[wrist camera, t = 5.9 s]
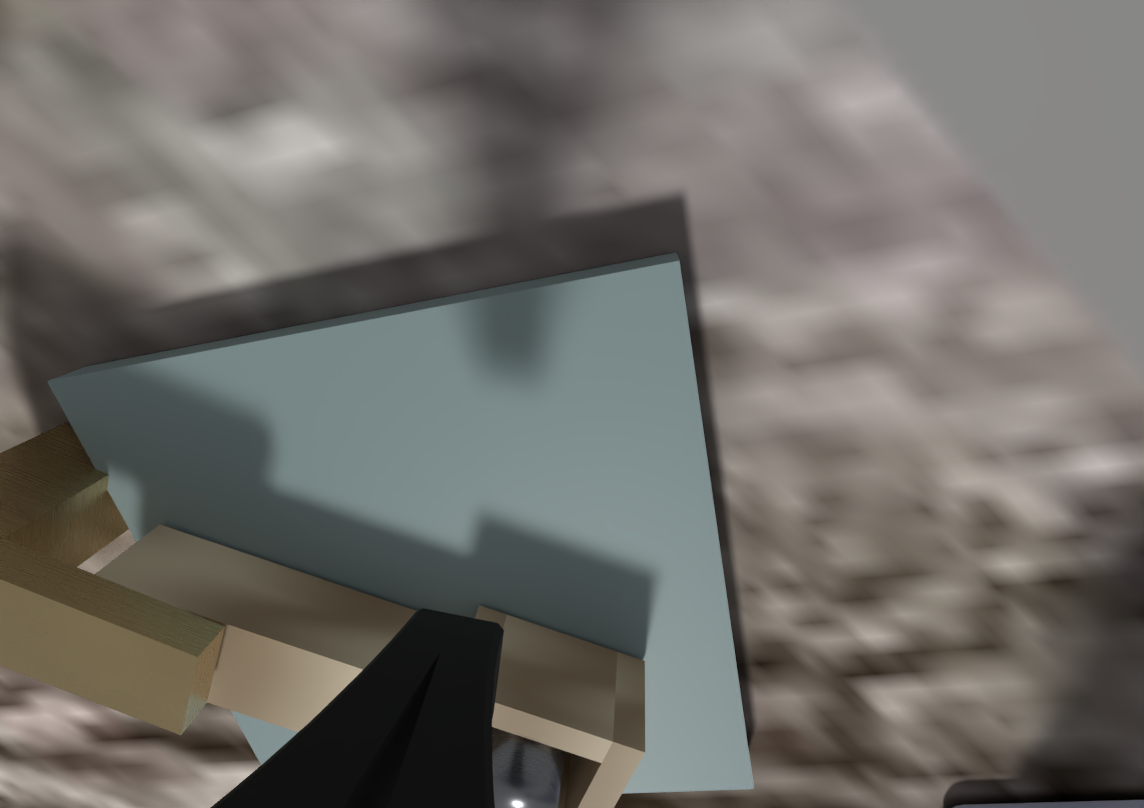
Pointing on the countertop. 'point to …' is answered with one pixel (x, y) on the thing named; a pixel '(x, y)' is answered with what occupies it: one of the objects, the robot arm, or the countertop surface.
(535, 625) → the link
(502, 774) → the cylinder
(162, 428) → the base board
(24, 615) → the keeper
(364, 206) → the countertop surface
